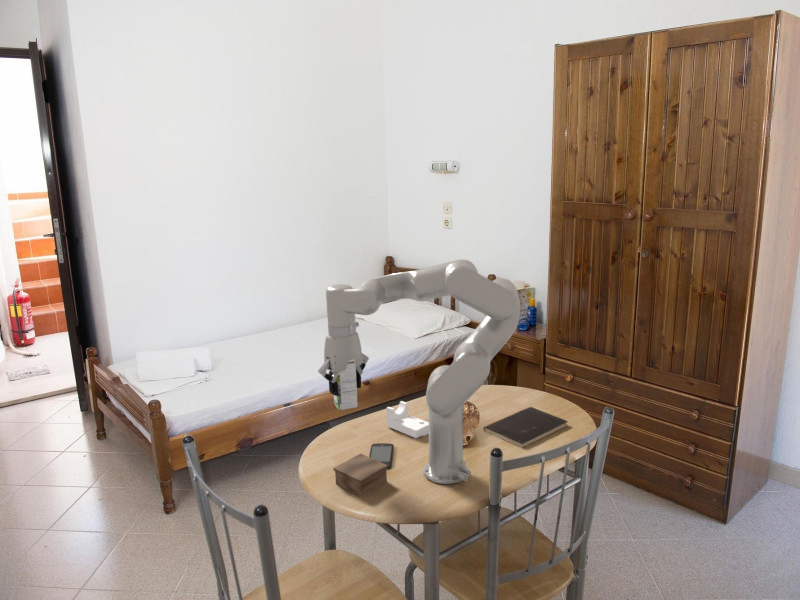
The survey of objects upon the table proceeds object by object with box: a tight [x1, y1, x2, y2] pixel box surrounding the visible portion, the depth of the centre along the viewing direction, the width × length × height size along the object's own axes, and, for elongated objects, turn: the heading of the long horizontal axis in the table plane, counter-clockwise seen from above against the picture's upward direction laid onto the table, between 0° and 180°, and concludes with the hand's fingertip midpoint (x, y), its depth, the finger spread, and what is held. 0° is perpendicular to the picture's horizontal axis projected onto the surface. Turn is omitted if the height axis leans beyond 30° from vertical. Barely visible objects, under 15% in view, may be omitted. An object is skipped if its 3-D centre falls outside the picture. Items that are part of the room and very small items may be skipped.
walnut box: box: [333, 453, 389, 497], centre depth 175 cm, size 11×11×5 cm
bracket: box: [386, 400, 429, 439], centre depth 205 cm, size 13×7×8 cm, turn 46°
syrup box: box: [333, 359, 359, 411], centre depth 177 cm, size 6×6×14 cm
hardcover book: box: [483, 406, 568, 449], centre depth 205 cm, size 16×23×2 cm
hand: (345, 390), depth 177 cm, fingers closed on syrup box, 7 cm apart
